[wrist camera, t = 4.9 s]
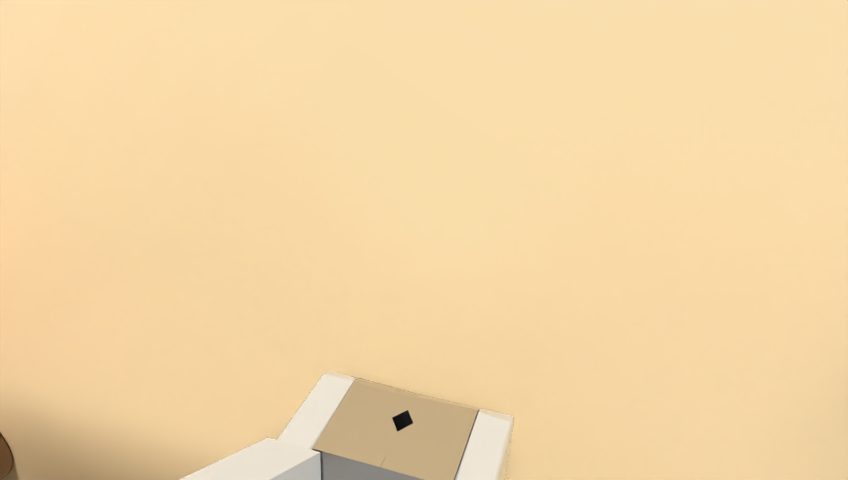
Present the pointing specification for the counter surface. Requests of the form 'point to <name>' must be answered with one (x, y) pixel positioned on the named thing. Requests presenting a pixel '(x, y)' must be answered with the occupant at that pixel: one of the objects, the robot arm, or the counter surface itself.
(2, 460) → the post
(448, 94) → the counter surface
